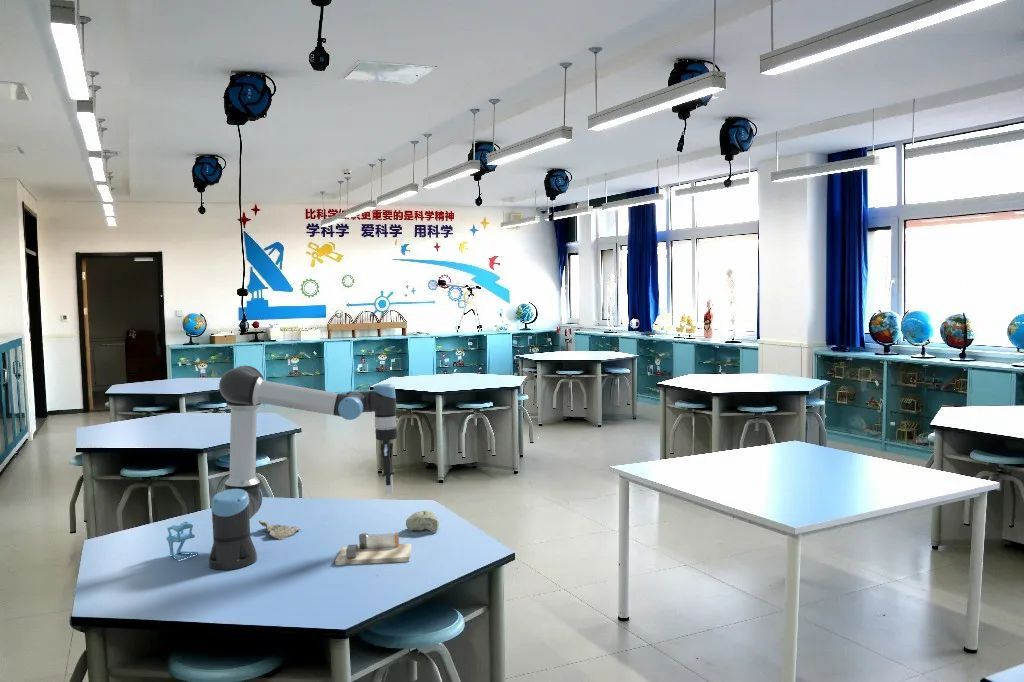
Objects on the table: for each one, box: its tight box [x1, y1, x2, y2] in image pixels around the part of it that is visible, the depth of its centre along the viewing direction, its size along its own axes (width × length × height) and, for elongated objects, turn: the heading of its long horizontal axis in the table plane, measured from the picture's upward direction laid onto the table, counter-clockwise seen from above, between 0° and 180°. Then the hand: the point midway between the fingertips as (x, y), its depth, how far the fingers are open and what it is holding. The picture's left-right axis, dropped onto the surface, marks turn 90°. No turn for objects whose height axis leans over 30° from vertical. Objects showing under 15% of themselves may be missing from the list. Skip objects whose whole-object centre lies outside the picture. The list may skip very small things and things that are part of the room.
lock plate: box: [334, 543, 412, 566], centre depth 258 cm, size 24×14×2 cm, turn 94°
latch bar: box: [358, 532, 400, 549], centre depth 263 cm, size 13×3×4 cm, turn 94°
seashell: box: [405, 510, 440, 534], centre depth 285 cm, size 13×8×10 cm
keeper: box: [346, 544, 359, 559], centre depth 255 cm, size 3×5×3 cm, turn 4°
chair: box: [165, 521, 199, 561], centre depth 263 cm, size 8×8×12 cm
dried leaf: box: [258, 520, 301, 541], centre depth 287 cm, size 18×16×5 cm
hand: (388, 493), depth 272 cm, fingers closed
